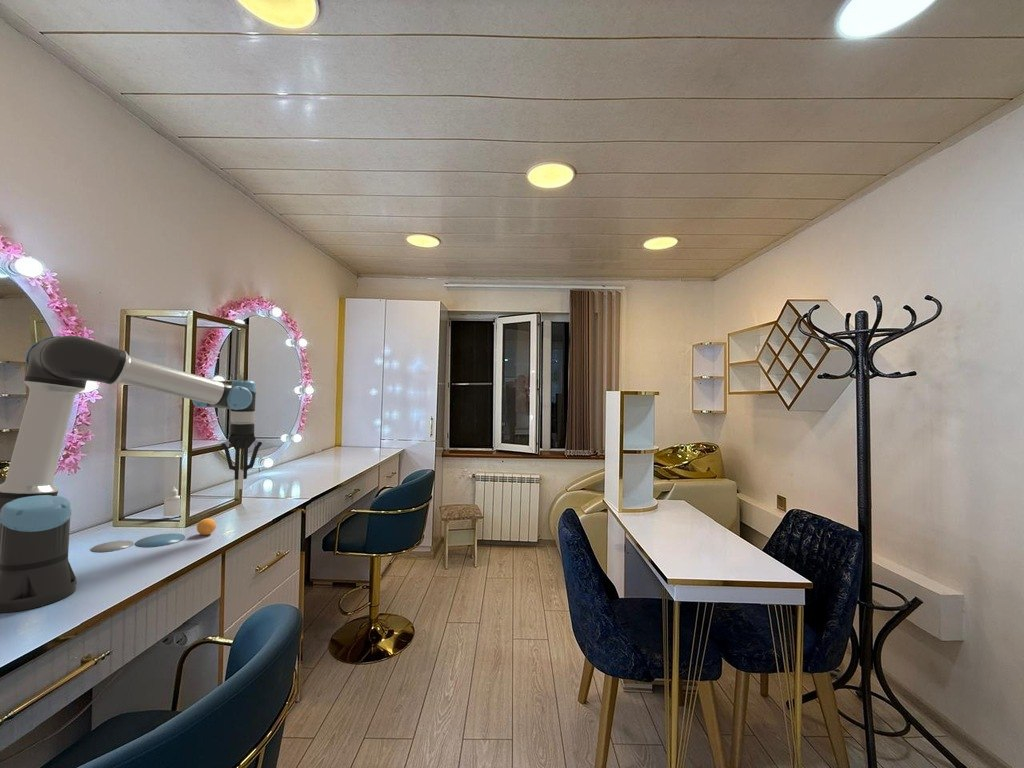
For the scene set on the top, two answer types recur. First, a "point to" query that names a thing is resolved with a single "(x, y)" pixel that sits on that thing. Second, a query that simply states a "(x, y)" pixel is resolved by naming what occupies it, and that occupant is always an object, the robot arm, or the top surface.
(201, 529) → the ball
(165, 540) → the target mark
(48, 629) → the top surface
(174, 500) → the eye dropper bottle
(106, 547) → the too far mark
